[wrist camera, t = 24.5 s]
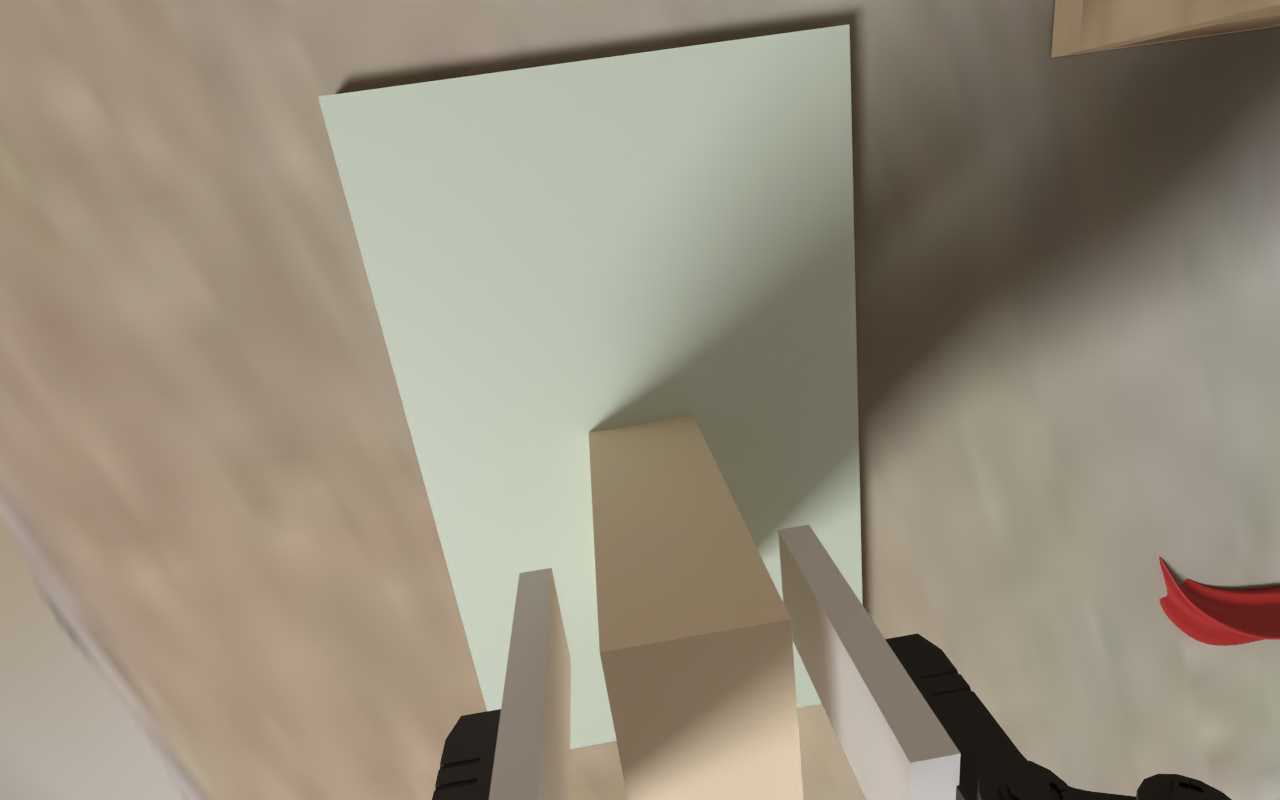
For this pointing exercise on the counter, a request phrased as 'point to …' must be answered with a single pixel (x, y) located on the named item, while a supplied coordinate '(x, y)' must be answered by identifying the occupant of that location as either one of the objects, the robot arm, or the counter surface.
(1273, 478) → the counter surface
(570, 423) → the lid
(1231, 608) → the cayenne pepper
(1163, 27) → the light wood open box
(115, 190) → the counter surface
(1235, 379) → the counter surface
